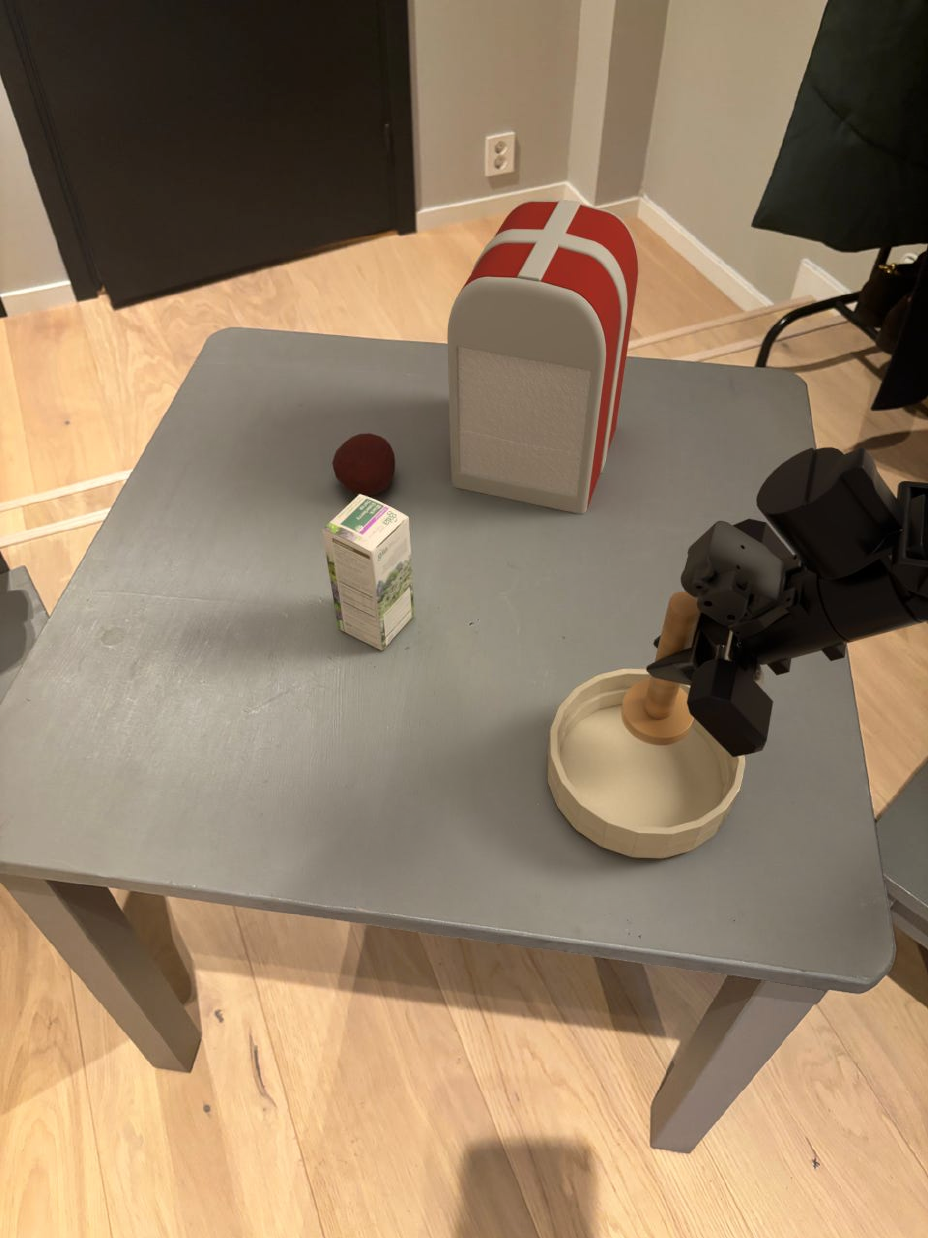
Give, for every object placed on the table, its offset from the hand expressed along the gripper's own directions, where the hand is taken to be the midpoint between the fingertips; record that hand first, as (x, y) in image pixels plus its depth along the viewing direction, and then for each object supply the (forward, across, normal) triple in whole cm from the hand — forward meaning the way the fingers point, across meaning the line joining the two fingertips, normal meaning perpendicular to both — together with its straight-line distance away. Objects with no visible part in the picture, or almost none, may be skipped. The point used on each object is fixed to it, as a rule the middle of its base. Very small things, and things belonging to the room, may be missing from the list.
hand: (653, 658), depth 71 cm
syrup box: (+29, -6, -10) cm, 31 cm away
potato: (+36, -25, -17) cm, 47 cm away
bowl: (+9, +2, +10) cm, 14 cm away
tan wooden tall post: (+4, 0, +6) cm, 8 cm away
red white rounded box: (+24, -37, -5) cm, 44 cm away
